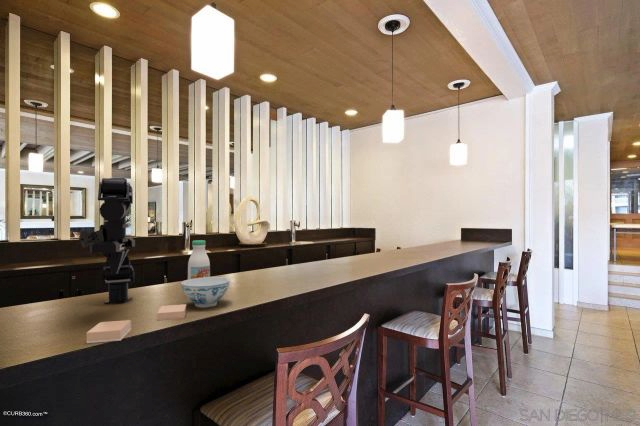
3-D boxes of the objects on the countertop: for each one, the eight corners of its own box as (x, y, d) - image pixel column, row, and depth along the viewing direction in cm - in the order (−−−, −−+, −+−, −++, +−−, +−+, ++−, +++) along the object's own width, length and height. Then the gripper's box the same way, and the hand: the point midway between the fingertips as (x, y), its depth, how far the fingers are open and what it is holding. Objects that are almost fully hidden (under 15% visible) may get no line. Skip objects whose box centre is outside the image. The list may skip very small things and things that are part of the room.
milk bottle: (183, 296, 123) (183, 241, 123) (196, 292, 130) (195, 239, 130) (202, 297, 121) (202, 241, 121) (214, 293, 128) (214, 239, 129)
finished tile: (161, 314, 102) (161, 306, 102) (186, 312, 104) (186, 304, 104) (157, 321, 95) (157, 313, 95) (184, 319, 97) (184, 311, 97)
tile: (100, 322, 86) (86, 332, 78) (131, 320, 87) (120, 330, 79) (100, 331, 85) (86, 343, 78) (131, 329, 87) (120, 340, 79)
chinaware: (239, 302, 114) (239, 279, 114) (203, 313, 101) (203, 287, 101) (208, 297, 121) (208, 275, 122) (171, 307, 109) (171, 282, 109)
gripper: (96, 221, 107) (96, 270, 107) (68, 221, 89) (67, 281, 89) (135, 220, 110) (135, 269, 110) (115, 221, 92) (115, 279, 92)
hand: (114, 274), depth 100 cm, fingers closed
